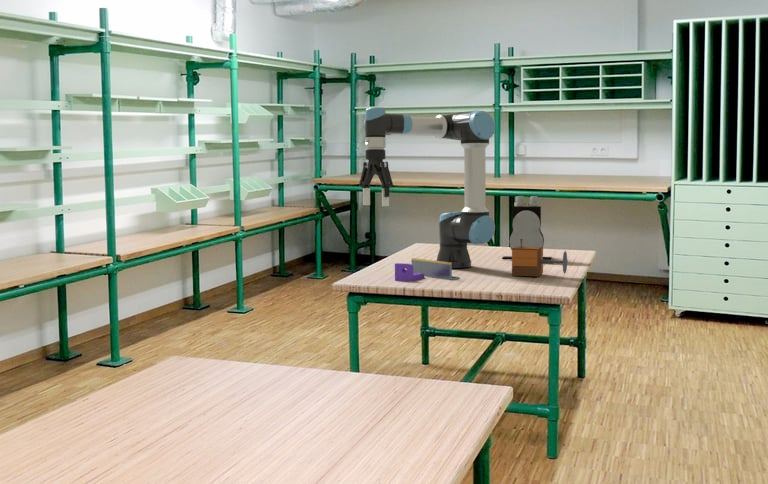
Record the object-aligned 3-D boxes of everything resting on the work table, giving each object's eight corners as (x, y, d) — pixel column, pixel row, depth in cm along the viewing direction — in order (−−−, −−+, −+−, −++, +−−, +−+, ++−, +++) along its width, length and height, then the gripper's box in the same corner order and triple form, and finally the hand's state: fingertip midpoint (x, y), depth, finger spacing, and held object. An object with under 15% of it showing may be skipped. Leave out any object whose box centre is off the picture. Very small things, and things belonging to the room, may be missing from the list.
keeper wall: (421, 273, 350) (421, 257, 350) (459, 278, 331) (459, 261, 330) (411, 274, 348) (411, 258, 347) (449, 279, 328) (449, 262, 328)
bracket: (411, 282, 325) (410, 264, 324) (395, 281, 328) (394, 263, 328) (424, 278, 336) (424, 261, 335) (408, 278, 339) (408, 260, 338)
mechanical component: (552, 260, 399) (553, 195, 396) (550, 264, 378) (551, 196, 376) (505, 259, 404) (505, 195, 401) (501, 264, 383) (501, 196, 381)
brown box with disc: (562, 277, 334) (562, 240, 333) (511, 275, 342) (511, 239, 341) (567, 274, 343) (567, 238, 342) (518, 272, 351) (518, 237, 350)
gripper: (350, 149, 331) (350, 205, 332) (384, 147, 310) (385, 206, 311) (366, 150, 335) (367, 204, 336) (402, 148, 314) (402, 206, 315)
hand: (375, 205), depth 324 cm, fingers open, 13 cm apart
